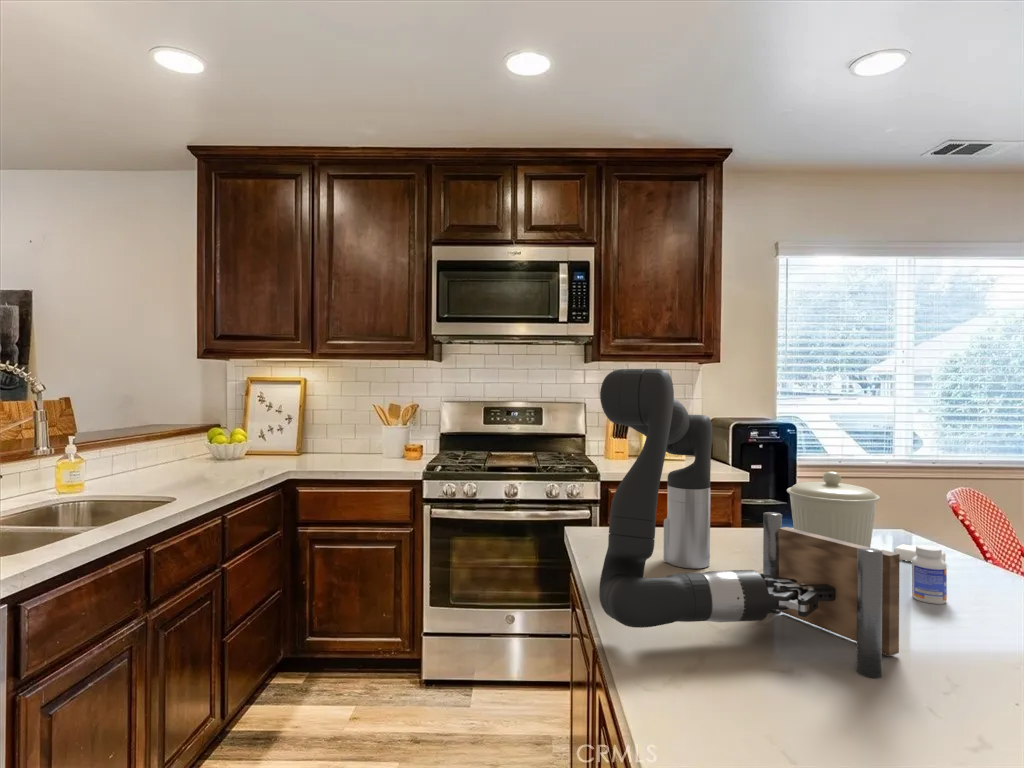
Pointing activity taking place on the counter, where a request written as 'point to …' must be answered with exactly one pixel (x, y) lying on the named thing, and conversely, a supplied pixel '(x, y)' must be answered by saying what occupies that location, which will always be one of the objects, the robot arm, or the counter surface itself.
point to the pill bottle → (929, 575)
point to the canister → (834, 509)
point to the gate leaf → (838, 583)
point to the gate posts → (866, 595)
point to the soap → (910, 552)
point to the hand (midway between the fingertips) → (832, 592)
